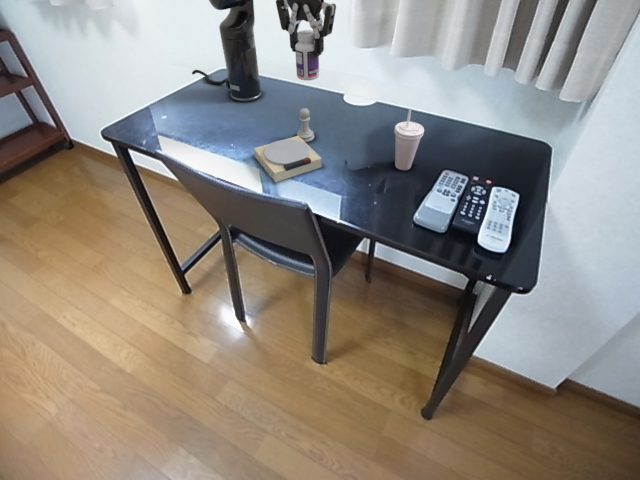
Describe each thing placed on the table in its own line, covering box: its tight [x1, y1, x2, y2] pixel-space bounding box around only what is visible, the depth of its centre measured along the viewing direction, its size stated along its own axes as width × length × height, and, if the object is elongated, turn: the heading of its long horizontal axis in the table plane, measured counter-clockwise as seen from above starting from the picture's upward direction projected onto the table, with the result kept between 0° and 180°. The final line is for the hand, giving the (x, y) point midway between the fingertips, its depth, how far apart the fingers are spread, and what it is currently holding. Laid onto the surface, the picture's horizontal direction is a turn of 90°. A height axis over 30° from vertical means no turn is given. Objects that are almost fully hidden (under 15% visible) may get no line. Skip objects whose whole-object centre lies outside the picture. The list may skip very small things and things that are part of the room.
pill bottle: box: [294, 29, 320, 81], centre depth 87 cm, size 5×5×10 cm
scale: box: [253, 135, 323, 183], centre depth 88 cm, size 12×12×3 cm
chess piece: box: [296, 107, 315, 143], centre depth 95 cm, size 5×5×8 cm
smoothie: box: [393, 107, 425, 171], centre depth 83 cm, size 6×6×14 cm
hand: (307, 52), depth 86 cm, fingers closed on pill bottle, 5 cm apart
